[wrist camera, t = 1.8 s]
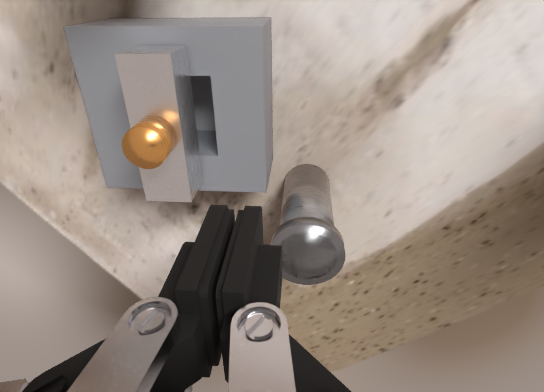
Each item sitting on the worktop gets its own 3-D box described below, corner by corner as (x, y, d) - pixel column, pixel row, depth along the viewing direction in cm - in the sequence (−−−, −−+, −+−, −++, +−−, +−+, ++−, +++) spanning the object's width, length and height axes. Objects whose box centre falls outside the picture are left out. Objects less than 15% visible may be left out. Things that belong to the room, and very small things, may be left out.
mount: (271, 17, 26) (262, 25, 21) (272, 158, 32) (266, 192, 26) (109, 18, 27) (63, 26, 22) (138, 155, 33) (107, 187, 27)
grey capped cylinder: (336, 159, 31) (348, 226, 23) (332, 209, 34) (341, 286, 25) (278, 158, 32) (268, 224, 23) (278, 207, 34) (269, 283, 26)
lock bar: (186, 45, 22) (156, 61, 17) (202, 180, 26) (182, 219, 22) (137, 45, 22) (95, 61, 17) (162, 179, 26) (133, 217, 22)
